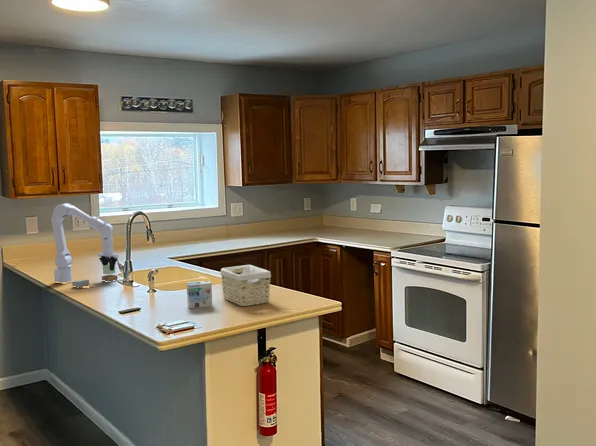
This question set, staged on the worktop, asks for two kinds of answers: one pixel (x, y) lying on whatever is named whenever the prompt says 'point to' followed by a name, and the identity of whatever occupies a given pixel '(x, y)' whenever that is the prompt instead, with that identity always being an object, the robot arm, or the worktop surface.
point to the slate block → (80, 283)
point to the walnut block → (109, 277)
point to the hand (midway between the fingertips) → (109, 270)
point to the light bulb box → (199, 294)
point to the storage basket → (246, 285)
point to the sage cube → (107, 270)
